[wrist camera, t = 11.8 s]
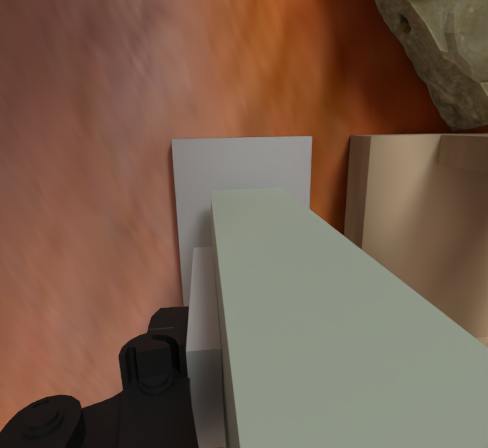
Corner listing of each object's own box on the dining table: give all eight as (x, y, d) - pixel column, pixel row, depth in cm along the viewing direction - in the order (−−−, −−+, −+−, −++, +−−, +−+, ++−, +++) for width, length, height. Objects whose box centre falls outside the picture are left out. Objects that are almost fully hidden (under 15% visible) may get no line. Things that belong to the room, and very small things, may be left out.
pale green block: (216, 338, 16) (252, 880, 4) (210, 190, 14) (244, 479, 3) (279, 333, 16) (463, 826, 5) (281, 187, 14) (597, 433, 3)
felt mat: (188, 356, 18) (187, 364, 17) (172, 138, 15) (171, 139, 14) (300, 346, 18) (303, 353, 18) (307, 136, 15) (312, 136, 15)
